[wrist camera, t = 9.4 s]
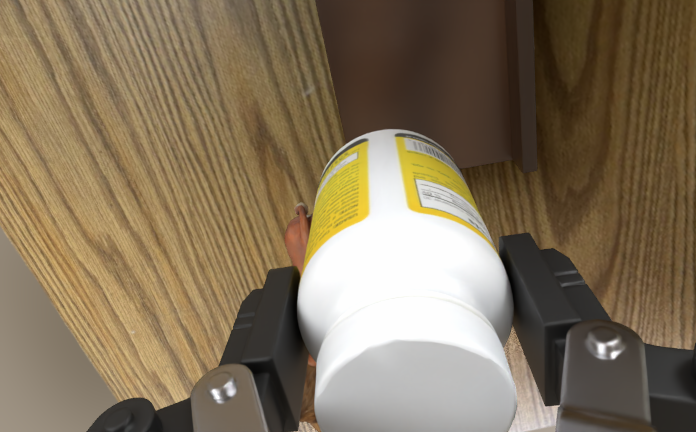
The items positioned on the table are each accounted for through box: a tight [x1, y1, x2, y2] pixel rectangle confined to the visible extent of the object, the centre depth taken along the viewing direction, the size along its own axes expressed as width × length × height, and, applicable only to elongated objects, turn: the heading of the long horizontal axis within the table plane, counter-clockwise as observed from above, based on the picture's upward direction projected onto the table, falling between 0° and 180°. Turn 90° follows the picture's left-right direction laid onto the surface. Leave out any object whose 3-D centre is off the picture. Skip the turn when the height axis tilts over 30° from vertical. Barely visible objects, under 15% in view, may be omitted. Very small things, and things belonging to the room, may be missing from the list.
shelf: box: [315, 0, 537, 173], centre depth 25 cm, size 10×18×6 cm, turn 11°
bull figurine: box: [285, 202, 317, 366], centre depth 33 cm, size 4×13×8 cm, turn 8°
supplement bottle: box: [297, 129, 517, 432], centre depth 14 cm, size 5×5×10 cm
